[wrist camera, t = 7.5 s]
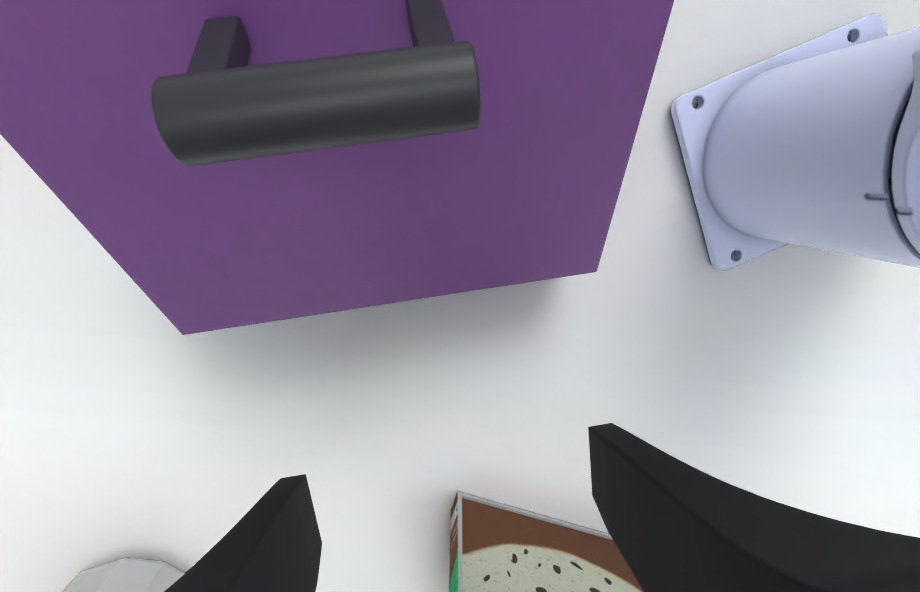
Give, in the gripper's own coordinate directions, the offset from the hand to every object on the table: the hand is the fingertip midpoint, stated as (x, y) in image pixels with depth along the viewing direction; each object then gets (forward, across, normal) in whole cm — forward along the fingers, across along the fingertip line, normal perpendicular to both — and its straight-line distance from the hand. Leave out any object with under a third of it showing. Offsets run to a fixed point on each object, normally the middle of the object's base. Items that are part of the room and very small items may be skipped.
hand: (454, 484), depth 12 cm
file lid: (+3, +1, -8) cm, 9 cm away
